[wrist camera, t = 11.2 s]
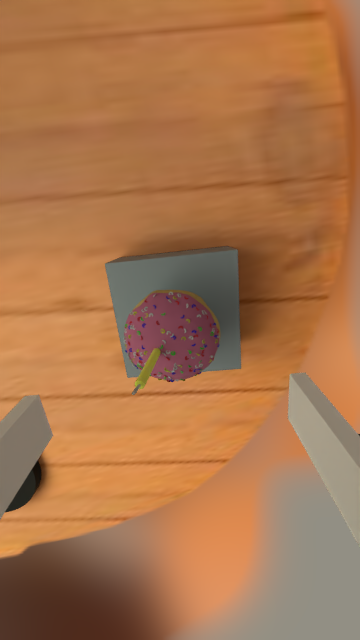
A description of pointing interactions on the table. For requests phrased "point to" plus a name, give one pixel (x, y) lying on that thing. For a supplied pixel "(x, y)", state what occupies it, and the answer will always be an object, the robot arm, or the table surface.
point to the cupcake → (171, 336)
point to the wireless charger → (26, 488)
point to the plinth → (188, 275)
